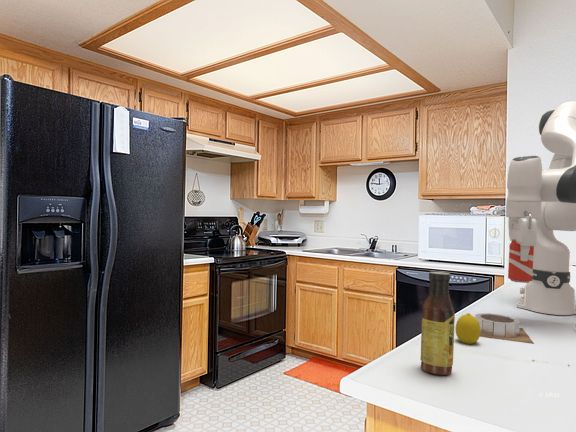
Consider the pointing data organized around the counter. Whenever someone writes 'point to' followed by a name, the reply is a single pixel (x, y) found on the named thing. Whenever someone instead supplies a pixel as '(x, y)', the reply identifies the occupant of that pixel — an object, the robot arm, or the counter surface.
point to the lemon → (468, 329)
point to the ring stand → (521, 338)
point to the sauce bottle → (438, 327)
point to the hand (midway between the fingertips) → (521, 259)
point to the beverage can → (520, 264)
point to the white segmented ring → (498, 325)
